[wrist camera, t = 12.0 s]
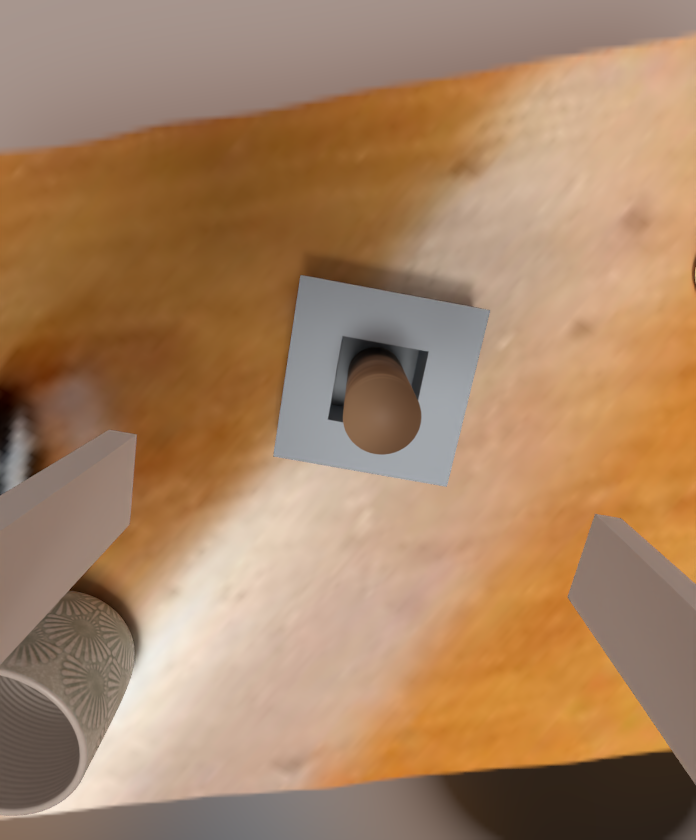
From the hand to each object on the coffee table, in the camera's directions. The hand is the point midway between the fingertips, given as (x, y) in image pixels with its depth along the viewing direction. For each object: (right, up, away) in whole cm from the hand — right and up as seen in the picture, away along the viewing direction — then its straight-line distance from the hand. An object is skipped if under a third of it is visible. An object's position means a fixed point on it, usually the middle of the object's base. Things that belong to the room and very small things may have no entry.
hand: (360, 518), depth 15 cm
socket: (+2, +6, +24) cm, 25 cm away
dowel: (+2, +6, +23) cm, 24 cm away
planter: (-24, -16, +31) cm, 42 cm away
